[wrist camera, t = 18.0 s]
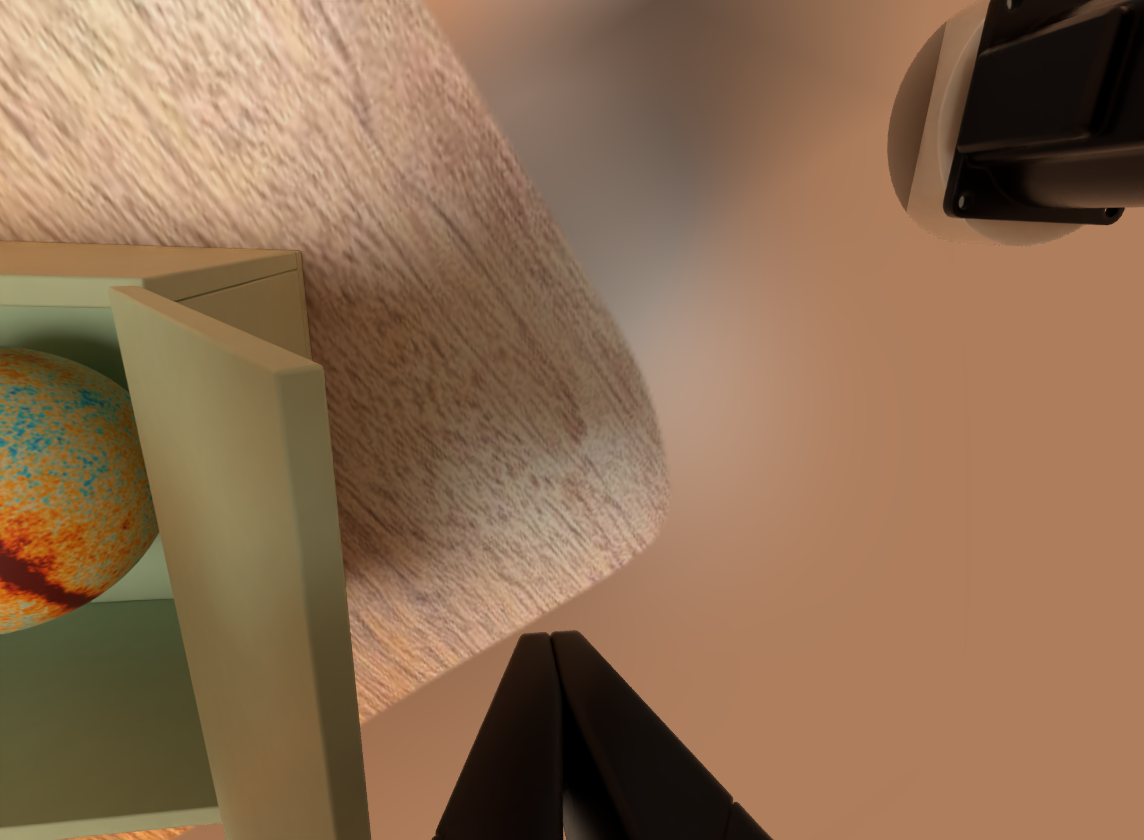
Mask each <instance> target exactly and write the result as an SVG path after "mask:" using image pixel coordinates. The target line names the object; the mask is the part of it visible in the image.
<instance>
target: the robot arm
mask: <svg viewBox="0 0 1144 840" xmlns="http://www.w3.org/2000/svg"><path fill="white" fill-rule="evenodd" d="M1011 1H1012V2H1011V8H1010V9H1009V8H1008V6H1007V0H990V2H989V5H988V9H987V14H986V18H985V22H984V27H983V31H982V35H981V40H980V44H979V48H978V53H977V57H976V61H975V66H974V70H973V74H972V78H971V83H970V87H969V91H968V96H967V100H966V104H965V109H964V113H963V117H962V122H961V126H960V130H959V135H958V139H957V143H956V148H955V152H954V156H953V161H952V165H951V169H950V174H949V178H948V182H947V187H946V191H945V195H944V200H943V210H944V213H945V214H946V215H947V216H948V217H951V218H961V219H982V220H1002V221H1023V222H1044V223H1065V224H1085V225H1110V224H1113V223H1114V222H1116V221H1117V220H1118V219H1119V218H1120V217H1121V216H1122V213H1123V212H1124V209H1125V207H1144V0H1011ZM962 196H963V198H964V203H963V205H962V207H961V208H960V207H959V200H960V198H961V197H962ZM1105 208H1106V211H1105ZM563 826H564V831H565V836H566V840H773V839H772V838H771V837H770V836H769V835H768V834H767V833H766V832H765V831H764V830H763V829H762V828H761V827H760V826H759V825H758V823H757V822H756V821H755V820H754V819H753V818H752V817H751V816H750V815H749V814H748V813H747V812H746V811H745V809H744V808H743V807H742V806H741V805H740V804H739V803H738V802H734V803H733V797H732V796H731V795H730V794H729V793H728V791H727V790H726V789H725V788H724V787H723V786H722V785H721V784H720V783H719V782H718V781H717V780H716V778H715V777H714V776H713V775H712V774H711V773H710V772H709V771H708V770H707V769H706V768H705V767H704V766H703V764H702V763H701V762H700V761H699V760H698V759H697V758H696V757H695V756H694V755H693V754H692V753H691V752H690V750H689V749H688V748H687V747H686V746H685V745H684V744H683V743H682V742H681V741H680V740H679V739H678V737H676V735H675V734H674V733H673V732H672V731H671V730H670V729H669V728H668V727H667V726H666V725H665V723H664V722H663V721H662V720H661V719H660V718H659V717H658V716H657V715H656V714H655V713H654V712H653V711H652V709H651V708H650V707H649V706H648V705H647V704H646V703H645V702H644V701H643V700H642V699H641V698H640V697H639V695H638V694H637V693H636V692H635V691H634V690H633V689H632V688H631V687H630V686H629V685H628V684H627V683H626V682H625V680H624V679H623V678H622V677H621V676H620V675H619V674H618V673H617V672H616V671H615V670H614V669H613V668H612V666H611V665H610V664H609V663H608V662H607V661H606V660H605V659H604V658H603V657H602V656H601V655H600V654H599V652H598V651H597V650H596V649H595V648H594V647H593V646H592V645H591V644H590V643H589V642H588V641H587V639H586V638H585V637H584V636H583V635H582V634H581V633H580V632H578V631H576V630H570V631H555V632H552V633H551V635H550V636H549V634H548V633H546V632H538V633H524V634H522V635H521V636H520V638H519V640H518V642H517V645H516V647H515V649H514V651H513V654H512V656H511V658H510V661H509V663H508V666H507V668H506V670H505V672H504V675H503V677H502V679H501V682H500V684H499V686H498V688H497V691H496V693H495V695H494V698H493V700H492V702H491V705H490V707H489V709H488V712H487V714H486V716H485V718H484V721H483V723H482V725H481V728H480V730H479V732H478V735H477V737H476V740H475V742H474V744H473V746H472V748H471V751H470V753H469V755H468V758H467V760H466V762H465V765H464V767H463V769H462V772H461V774H460V776H459V779H458V781H457V783H456V786H455V788H454V790H453V792H452V795H451V797H450V799H449V802H448V804H447V806H446V809H445V811H444V813H443V815H442V818H441V820H440V822H439V825H438V827H437V829H436V836H434V837H433V838H432V840H563Z"/></svg>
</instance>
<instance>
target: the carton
mask: <svg viewBox="0 0 1144 840" xmlns="http://www.w3.org/2000/svg"><path fill="white" fill-rule="evenodd" d="M111 286H139V287H142V288H144V289H146V290H148V291H151V292H153V293H155V294H158V295H160V296H162V297H165V298H167V299H169V300H172V301H174V302H176V303H179V304H181V305H183V306H186V307H188V308H190V309H193V310H195V311H197V312H200V313H202V314H204V315H207V316H209V317H211V318H214V319H216V320H218V321H221V322H223V323H225V324H228V325H230V326H232V327H235V328H237V329H239V330H241V331H244V332H246V333H248V334H251V335H253V336H255V337H258V338H260V339H262V340H265V341H267V342H269V343H272V344H274V345H276V346H279V347H281V348H283V349H286V350H288V351H290V352H293V353H295V354H297V355H300V356H302V357H304V358H307V359H309V360H311V361H312V355H311V345H310V336H309V327H308V317H307V308H306V299H305V289H304V280H303V271H302V261H301V253H300V251H297V250H267V249H237V248H206V247H176V246H145V245H115V244H84V243H54V242H23V241H0V346H9V347H18V348H25V349H31V350H36V351H41V352H45V353H49V354H53V355H57V356H60V357H63V358H66V359H69V360H72V361H75V362H77V363H80V364H82V365H84V366H87V367H89V368H91V369H93V370H95V371H97V372H99V373H101V374H102V375H104V376H106V377H108V378H109V379H111V380H112V381H114V382H115V383H117V384H118V385H120V386H121V387H122V388H124V389H125V390H126V391H127V392H128V393H130V392H129V387H128V383H127V378H126V373H125V369H124V364H123V359H122V355H121V350H120V346H119V341H118V336H117V332H116V327H115V322H114V318H113V313H112V308H111V304H110V299H109V294H108V287H111ZM215 823H222V820H221V816H220V811H219V806H218V802H217V797H216V792H215V788H214V783H213V778H212V774H211V769H210V764H209V760H208V755H207V750H206V746H205V741H204V736H203V732H202V727H201V722H200V718H199V713H198V708H197V704H196V699H195V695H194V690H193V685H192V681H191V676H190V671H189V667H188V662H187V657H186V653H185V648H184V643H183V639H182V634H181V629H180V625H179V620H178V615H177V611H176V606H175V601H174V597H173V592H172V587H171V583H170V578H169V574H168V569H167V564H166V560H165V555H164V550H163V546H162V541H161V536H160V532H159V533H158V535H157V537H156V539H155V540H154V542H153V543H152V545H151V546H150V548H149V549H148V551H147V552H146V553H145V555H144V556H143V557H142V558H141V560H140V561H139V562H138V563H137V564H136V565H135V566H134V567H133V568H132V569H131V570H130V571H129V572H128V573H127V574H126V575H125V576H124V577H123V578H122V579H121V580H120V581H118V582H117V583H116V584H115V585H113V586H112V587H111V588H110V589H108V590H107V591H105V592H104V593H103V594H101V595H100V596H98V597H97V598H95V599H93V600H92V601H90V602H88V603H87V604H85V605H83V606H81V607H79V608H77V609H75V610H73V611H71V612H69V613H67V614H65V615H63V616H60V617H58V618H56V619H53V620H51V621H48V622H45V623H43V624H39V625H36V626H33V627H30V628H27V629H23V630H19V631H15V632H11V633H6V634H1V635H0V840H58V839H68V838H78V837H88V836H97V835H107V834H117V833H127V832H136V831H146V830H156V829H166V828H176V827H185V826H195V825H205V824H215Z"/></svg>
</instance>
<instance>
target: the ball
mask: <svg viewBox="0 0 1144 840" xmlns="http://www.w3.org/2000/svg"><path fill="white" fill-rule="evenodd" d="M158 533H159V527H158V522H157V518H156V513H155V508H154V504H153V499H152V494H151V490H150V485H149V480H148V476H147V471H146V467H145V462H144V457H143V453H142V448H141V443H140V439H139V434H138V429H137V425H136V420H135V415H134V411H133V406H132V401H131V397H130V393H128V392H127V391H126V390H125V389H124V388H122V387H121V386H120V385H118V384H117V383H115V382H114V381H112V380H111V379H109V378H108V377H106V376H104V375H102V374H101V373H99V372H97V371H95V370H93V369H91V368H89V367H87V366H84V365H82V364H80V363H77V362H75V361H72V360H69V359H66V358H63V357H60V356H57V355H53V354H49V353H45V352H41V351H36V350H31V349H25V348H18V347H9V346H0V635H1V634H6V633H11V632H15V631H19V630H23V629H27V628H30V627H33V626H36V625H39V624H43V623H45V622H48V621H51V620H53V619H56V618H58V617H60V616H63V615H65V614H67V613H69V612H71V611H73V610H75V609H77V608H79V607H81V606H83V605H85V604H87V603H88V602H90V601H92V600H93V599H95V598H97V597H98V596H100V595H101V594H103V593H104V592H105V591H107V590H108V589H110V588H111V587H112V586H113V585H115V584H116V583H117V582H118V581H120V580H121V579H122V578H123V577H124V576H125V575H126V574H127V573H128V572H129V571H130V570H131V569H132V568H133V567H134V566H135V565H136V564H137V563H138V562H139V561H140V560H141V558H142V557H143V556H144V555H145V553H146V552H147V551H148V549H149V548H150V546H151V545H152V543H153V542H154V540H155V539H156V537H157V535H158Z"/></svg>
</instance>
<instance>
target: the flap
mask: <svg viewBox="0 0 1144 840" xmlns="http://www.w3.org/2000/svg"><path fill="white" fill-rule="evenodd" d="M108 294H109V299H110V304H111V308H112V313H113V318H114V322H115V327H116V332H117V336H118V341H119V346H120V350H121V355H122V359H123V364H124V369H125V373H126V378H127V383H128V387H129V392H130V397H131V401H132V406H133V411H134V415H135V420H136V425H137V429H138V434H139V439H140V443H141V448H142V453H143V457H144V462H145V467H146V471H147V476H148V480H149V485H150V490H151V494H152V499H153V504H154V508H155V513H156V518H157V522H158V527H159V532H160V536H161V541H162V546H163V550H164V555H165V560H166V564H167V569H168V574H169V578H170V583H171V587H172V592H173V597H174V601H175V606H176V611H177V615H178V620H179V625H180V629H181V634H182V639H183V643H184V648H185V653H186V657H187V662H188V667H189V671H190V676H191V681H192V685H193V690H194V695H195V699H196V704H197V708H198V713H199V718H200V722H201V727H202V732H203V736H204V741H205V746H206V750H207V755H208V760H209V764H210V769H211V774H212V778H213V783H214V788H215V792H216V797H217V802H218V806H219V811H220V816H221V820H222V825H223V829H224V834H225V839H226V840H371V832H370V822H369V812H368V803H367V792H366V782H365V773H364V764H363V753H362V744H361V733H360V723H359V713H358V703H357V693H356V683H355V673H354V663H353V654H352V644H351V634H350V624H349V614H348V604H347V594H346V584H345V574H344V564H343V554H342V545H341V535H340V525H339V515H338V505H337V495H336V485H335V475H334V465H333V455H332V445H331V436H330V426H329V416H328V406H327V396H326V386H325V376H324V368H323V367H322V365H321V364H318V363H316V362H314V361H311V360H309V359H307V358H304V357H302V356H300V355H297V354H295V353H293V352H290V351H288V350H286V349H283V348H281V347H279V346H276V345H274V344H272V343H269V342H267V341H265V340H262V339H260V338H258V337H255V336H253V335H251V334H248V333H246V332H244V331H241V330H239V329H237V328H235V327H232V326H230V325H228V324H225V323H223V322H221V321H218V320H216V319H214V318H211V317H209V316H207V315H204V314H202V313H200V312H197V311H195V310H193V309H190V308H188V307H186V306H183V305H181V304H179V303H176V302H174V301H172V300H169V299H167V298H165V297H162V296H160V295H158V294H155V293H153V292H151V291H148V290H146V289H144V288H142V287H139V286H111V287H108Z"/></svg>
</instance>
